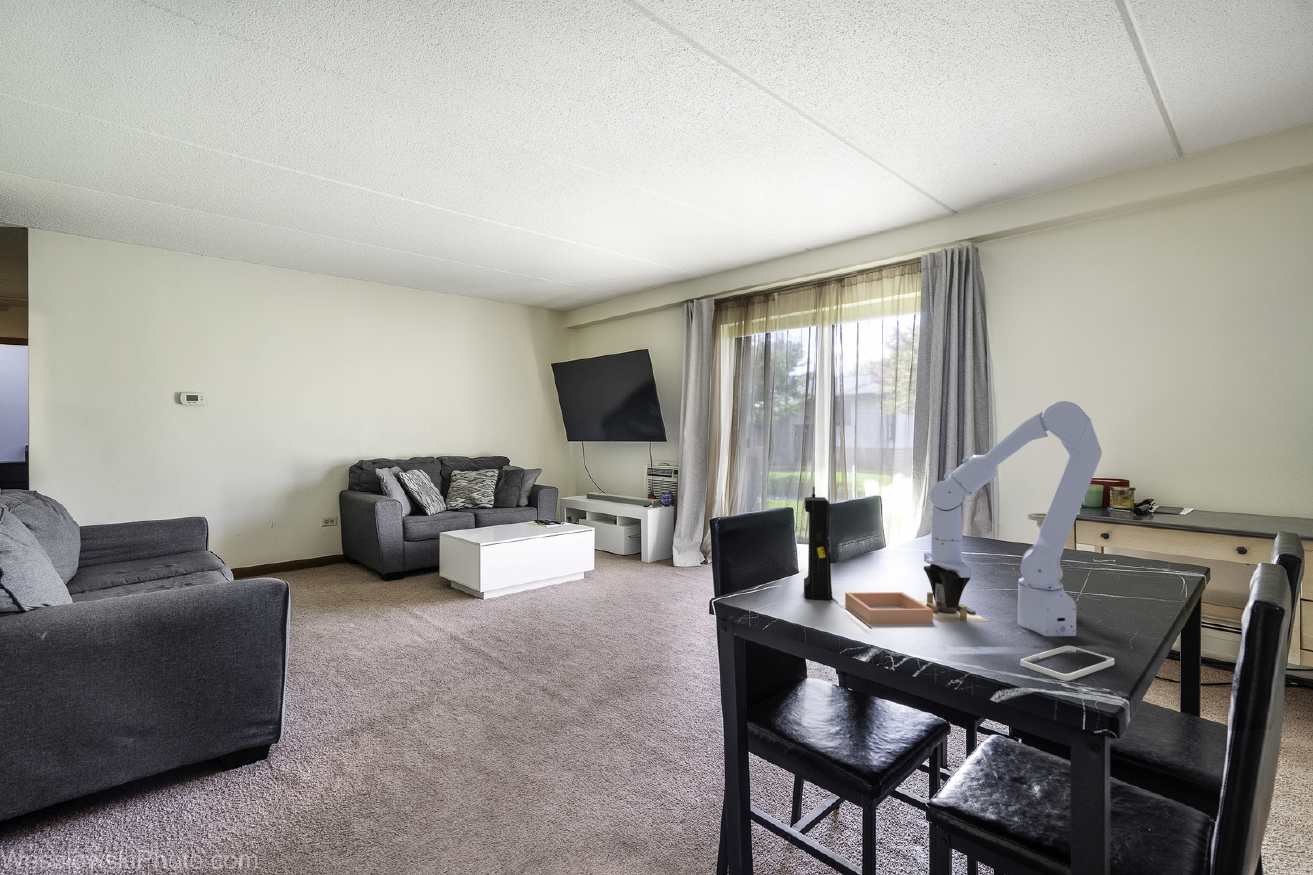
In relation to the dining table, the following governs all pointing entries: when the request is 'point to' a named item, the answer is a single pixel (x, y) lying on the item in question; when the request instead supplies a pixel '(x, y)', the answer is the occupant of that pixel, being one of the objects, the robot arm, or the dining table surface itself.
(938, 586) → the battery cell
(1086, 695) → the dining table surface
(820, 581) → the portable radio
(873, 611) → the low rectangular frame
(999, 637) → the dining table surface
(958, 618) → the checker cradle
